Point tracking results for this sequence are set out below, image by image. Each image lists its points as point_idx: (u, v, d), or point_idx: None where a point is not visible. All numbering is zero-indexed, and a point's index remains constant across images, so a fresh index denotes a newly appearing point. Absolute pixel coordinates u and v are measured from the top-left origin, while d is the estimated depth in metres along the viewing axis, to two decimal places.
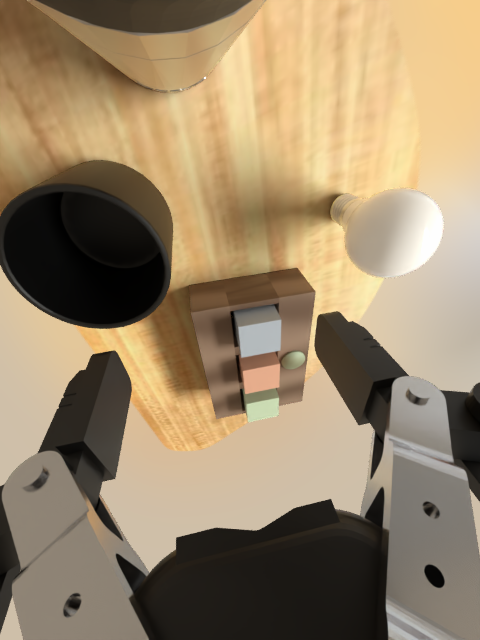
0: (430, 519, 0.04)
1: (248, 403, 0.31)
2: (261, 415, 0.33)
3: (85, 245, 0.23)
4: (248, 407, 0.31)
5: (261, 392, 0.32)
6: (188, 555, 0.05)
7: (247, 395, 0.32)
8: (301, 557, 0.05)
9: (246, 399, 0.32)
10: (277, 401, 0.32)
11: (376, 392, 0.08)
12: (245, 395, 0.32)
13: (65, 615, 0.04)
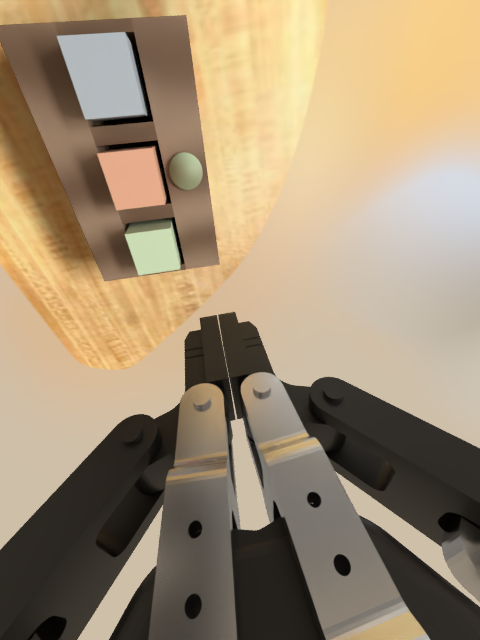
0: (317, 508, 0.05)
1: (128, 234, 0.23)
2: (154, 264, 0.25)
3: None
4: (130, 242, 0.23)
5: (150, 227, 0.24)
6: None
7: (131, 229, 0.24)
8: None
9: (127, 231, 0.23)
10: (170, 236, 0.24)
11: (240, 387, 0.08)
12: (128, 229, 0.24)
13: (188, 531, 0.05)
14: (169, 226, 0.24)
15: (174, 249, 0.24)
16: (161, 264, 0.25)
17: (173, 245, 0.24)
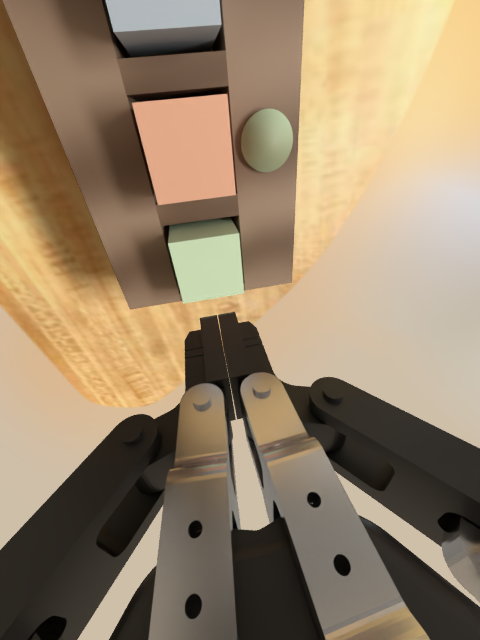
0: (317, 508, 0.05)
1: (173, 243, 0.15)
2: (208, 286, 0.17)
3: None
4: (175, 255, 0.15)
5: (204, 231, 0.16)
6: None
7: (175, 235, 0.15)
8: None
9: (171, 239, 0.15)
10: (237, 246, 0.15)
11: (240, 387, 0.08)
12: (171, 235, 0.15)
13: (188, 531, 0.05)
14: (235, 230, 0.15)
15: (240, 265, 0.16)
16: (218, 287, 0.17)
17: (239, 259, 0.16)
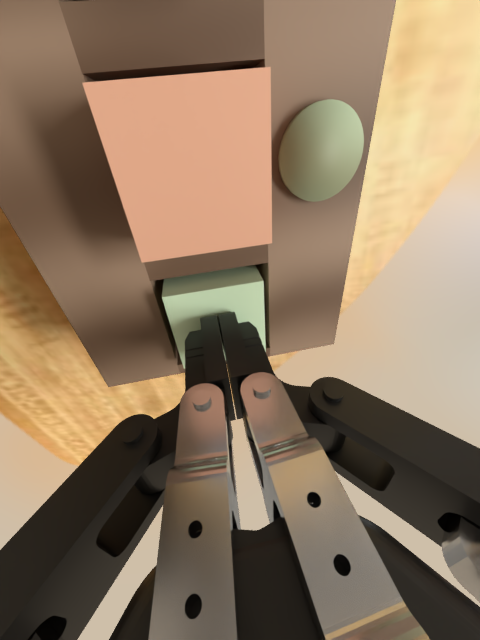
0: (317, 509, 0.05)
1: (169, 296, 0.10)
2: None
3: None
4: (172, 312, 0.10)
5: (214, 275, 0.11)
6: None
7: (172, 281, 0.11)
8: None
9: (166, 288, 0.11)
10: (260, 297, 0.11)
11: (239, 387, 0.08)
12: (167, 282, 0.11)
13: (188, 531, 0.05)
14: (257, 274, 0.11)
15: (262, 320, 0.12)
16: None
17: (262, 313, 0.11)
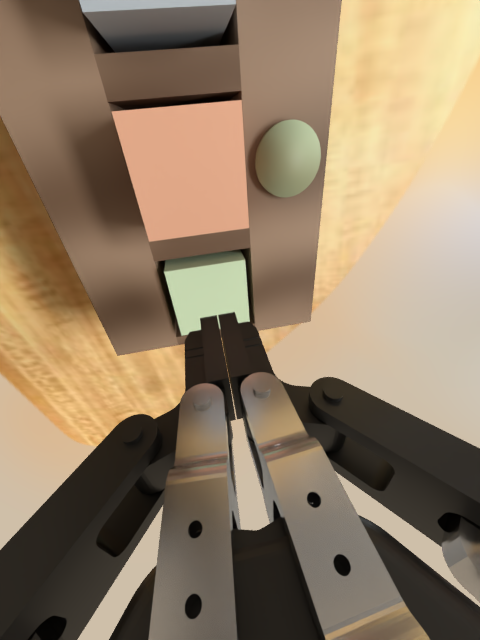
0: (317, 508, 0.05)
1: (170, 271, 0.13)
2: None
3: None
4: (172, 284, 0.13)
5: (206, 256, 0.14)
6: None
7: (172, 261, 0.14)
8: None
9: (167, 265, 0.13)
10: (242, 274, 0.13)
11: (239, 388, 0.08)
12: (168, 261, 0.14)
13: (188, 531, 0.05)
14: (240, 255, 0.14)
15: (245, 293, 0.14)
16: None
17: (245, 287, 0.14)
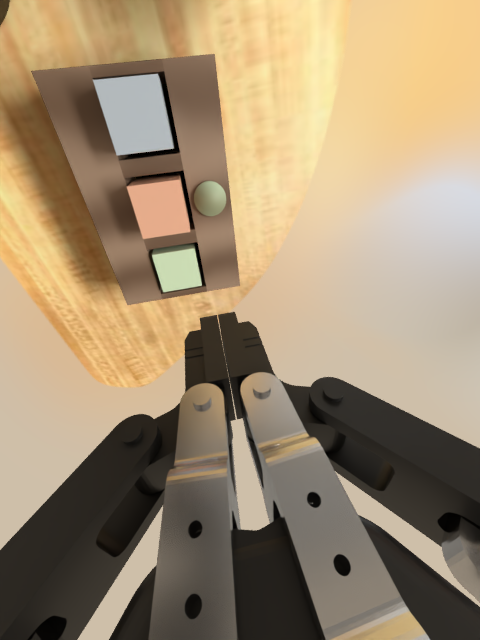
0: (317, 509, 0.05)
1: (155, 254, 0.25)
2: (178, 281, 0.26)
3: None
4: (156, 262, 0.25)
5: (174, 247, 0.26)
6: None
7: (156, 249, 0.25)
8: None
9: (154, 252, 0.25)
10: (194, 256, 0.25)
11: (239, 388, 0.08)
12: (154, 250, 0.26)
13: (188, 531, 0.05)
14: (192, 246, 0.25)
15: (197, 267, 0.26)
16: (184, 281, 0.27)
17: (196, 263, 0.26)
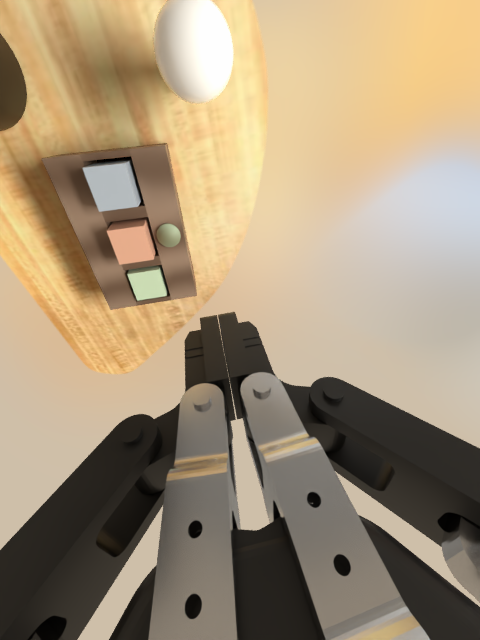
0: (317, 509, 0.05)
1: (129, 274, 0.34)
2: (148, 292, 0.35)
3: None
4: (131, 279, 0.34)
5: (145, 268, 0.35)
6: None
7: (131, 269, 0.34)
8: None
9: (129, 271, 0.34)
10: (159, 274, 0.34)
11: (239, 388, 0.08)
12: (130, 270, 0.34)
13: (188, 532, 0.05)
14: (158, 267, 0.34)
15: (162, 282, 0.35)
16: (153, 293, 0.36)
17: (161, 280, 0.35)
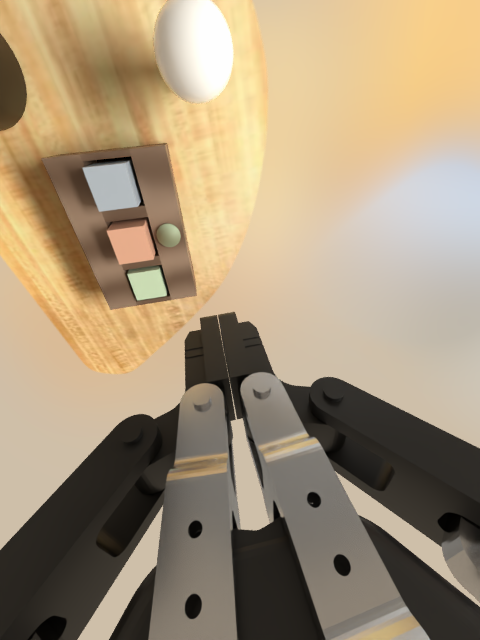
0: (316, 508, 0.05)
1: (129, 274, 0.34)
2: (148, 292, 0.35)
3: None
4: (131, 279, 0.34)
5: (145, 268, 0.35)
6: None
7: (131, 269, 0.34)
8: None
9: (129, 271, 0.34)
10: (159, 274, 0.34)
11: (239, 387, 0.08)
12: (130, 269, 0.34)
13: (188, 531, 0.05)
14: (158, 267, 0.34)
15: (162, 282, 0.35)
16: (153, 292, 0.36)
17: (161, 280, 0.35)
